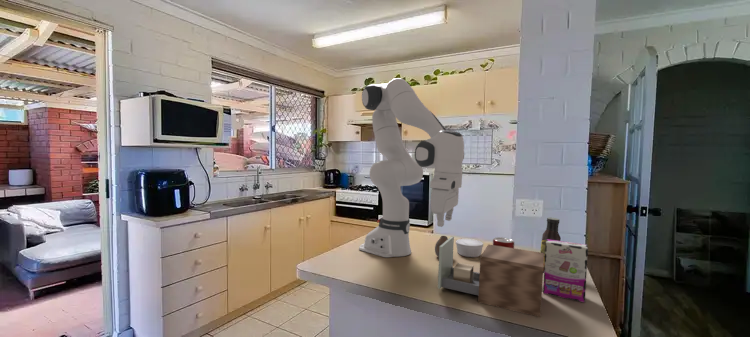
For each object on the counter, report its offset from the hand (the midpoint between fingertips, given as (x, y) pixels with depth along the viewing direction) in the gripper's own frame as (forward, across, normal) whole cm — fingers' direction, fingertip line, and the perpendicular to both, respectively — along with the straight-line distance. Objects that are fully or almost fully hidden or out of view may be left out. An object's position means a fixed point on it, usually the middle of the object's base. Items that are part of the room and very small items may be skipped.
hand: (444, 223), depth 105 cm
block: (+18, +1, +7) cm, 19 cm away
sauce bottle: (+20, -32, +32) cm, 49 cm away
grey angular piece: (+18, +1, +9) cm, 20 cm away
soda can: (+20, -21, +17) cm, 33 cm away
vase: (+21, -25, -6) cm, 33 cm away
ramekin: (+21, -36, +2) cm, 42 cm away
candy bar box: (+19, -10, +36) cm, 42 cm away
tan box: (+19, +1, +22) cm, 29 cm away
